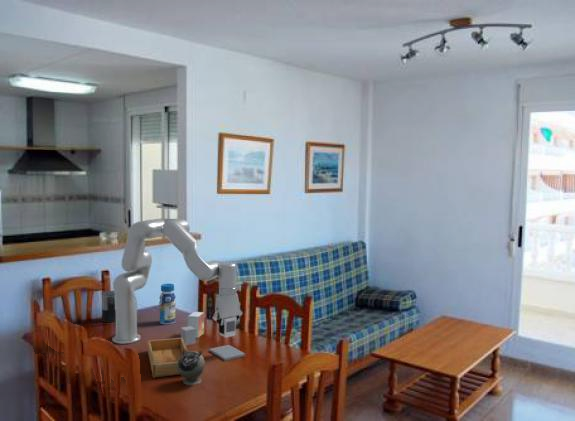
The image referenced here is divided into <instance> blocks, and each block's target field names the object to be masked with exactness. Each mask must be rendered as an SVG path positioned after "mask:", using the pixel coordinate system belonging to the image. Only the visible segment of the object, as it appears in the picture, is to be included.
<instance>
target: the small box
mask: <svg viewBox="0 0 575 421" xmlns="http://www.w3.org/2000/svg"><path fill="white" fill-rule="evenodd" d="M188 326H192V327H193V328H195V329H196V339H199V338H200V337H201V336H202V335H204V334H205V312H203V311H202V312H201V311H193V312H192V313H190V314H189V315H187V327H188Z"/></svg>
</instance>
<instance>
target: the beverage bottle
mask: <svg viewBox="0 0 575 421" xmlns="http://www.w3.org/2000/svg"><path fill="white" fill-rule="evenodd" d="M160 291H161V293H160V295H159V323H160V324H161V325H171V324H174V323H176V303H177V302H176V294H175V293H174V291H175V284H173V283H162V284H161V285H160Z"/></svg>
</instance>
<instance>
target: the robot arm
mask: <svg viewBox="0 0 575 421" xmlns="http://www.w3.org/2000/svg"><path fill="white" fill-rule="evenodd" d="M160 237H165V238H166V239H167V240H168V241H169V242H170V243H171V244H172V245H173V246H174V247H175V248H176V249H177V250H178V252H180V253H181V255H182V257H183V260H184V262H185V264H186V267H187V268H188V269H189V271H190V272H191V273H192V274H194V276H195V277H197V278H198V279H199V280H201V281H203V282H209V281H212V280H214V279H216V278H217V279H218V294H216V299H215V306H214V314H213V316H212V317H211V318H212V320H213V321H215V322H216V323H217V324H218V332H219V334H220V333H221V334H224V325H223V323H224V319H225V318H228V317H235V318H236V323H237V322H238V320H239V319H240V317H241V316H242V315H243V311H242V309H241V308H240V301H239V295H238V293H237V292H238V291H239V289H240V288H239V287H238V286H237V265H236V263H234V262H231V261H230V262H224V261H219V260H211V261H207V262H205V260H203V258H201V256H200V255H199V253H198V252H197V246H198V241H197V240H196V238H194V236H193V235H192V234H191V233H190V224H189V222H188V221H187V220H186V219H183V218H156V219H155V218H153V219H148V220H147V219H146V220H141V221H136V222H135V223H133V224H132V225H131V226H130V227H129V228H128V231H127V237H126V243H125V246H124V250H123V254H122V259H121V263H120V264H121V267H122V269H123V270H124V272H123V273H121V274H119V275H117V276H116V277H115V278H114V280H113V282H112V287H113V288H112V289H113V291H114V293H115V306H116V321H115V335H113V337H112V340H111V341H112V342H113V343H115V344H119V345H120V344H121V345H124V344H125V345H126V344H132V343H136V342H138V341H140V340H141V335H140V334H139V333H138V320H137V319H138V307H137V306H138V303H137V302H138V300H137V298H136V297H137V296H136V295H135V291H138V290H141V289H143V288H145V286H146V285H147V282H148V278H149V274H150V271H151V267H152V263H153V261H152V260H153V259H152V258H153V257H152V254H151V253H150V251H148V249H145V247H146V240H149V239H150V240H151V239H155V238H160Z"/></svg>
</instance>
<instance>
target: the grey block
mask: <svg viewBox="0 0 575 421" xmlns="http://www.w3.org/2000/svg"><path fill="white" fill-rule="evenodd" d="M180 338H183V340H184V343H185V345H186V346H189V345H195V344H196V343H197V342H196V339H197V338H196V329H195V328H193V327H192V326H188V325H187V326H182V327H180Z"/></svg>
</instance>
